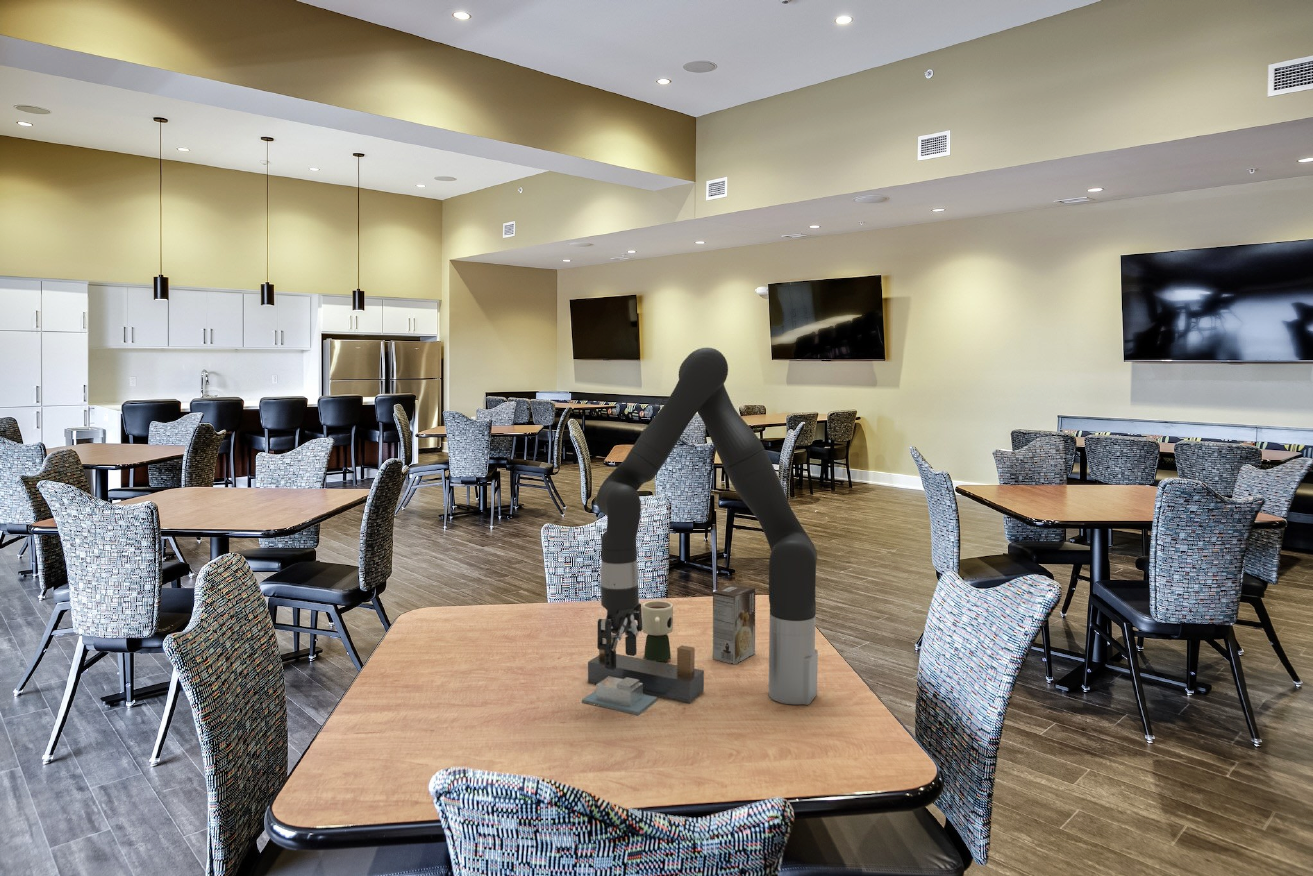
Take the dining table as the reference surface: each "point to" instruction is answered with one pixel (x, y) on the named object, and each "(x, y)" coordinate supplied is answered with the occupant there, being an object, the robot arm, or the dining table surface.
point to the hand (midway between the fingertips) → (621, 661)
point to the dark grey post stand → (655, 674)
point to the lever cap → (620, 690)
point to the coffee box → (733, 623)
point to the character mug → (657, 629)
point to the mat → (634, 709)
